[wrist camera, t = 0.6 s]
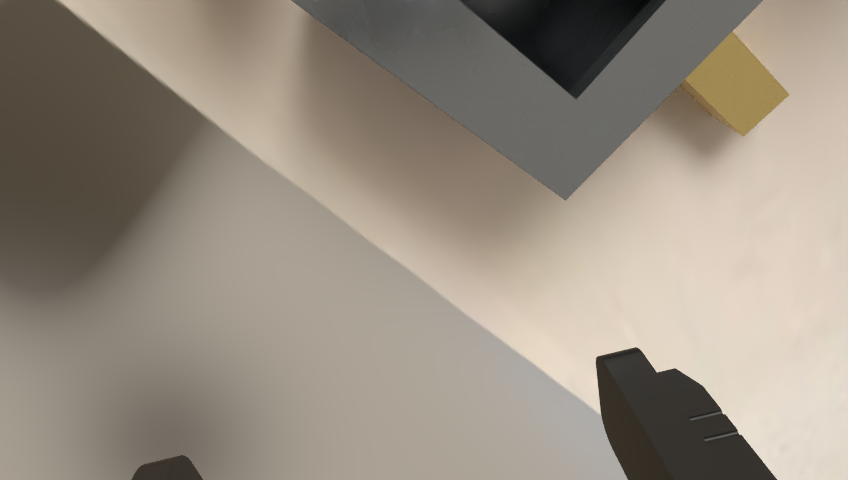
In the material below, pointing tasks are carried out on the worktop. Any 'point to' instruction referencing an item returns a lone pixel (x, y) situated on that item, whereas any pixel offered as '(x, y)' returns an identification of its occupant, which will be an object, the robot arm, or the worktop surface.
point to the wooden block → (734, 86)
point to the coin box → (539, 66)
